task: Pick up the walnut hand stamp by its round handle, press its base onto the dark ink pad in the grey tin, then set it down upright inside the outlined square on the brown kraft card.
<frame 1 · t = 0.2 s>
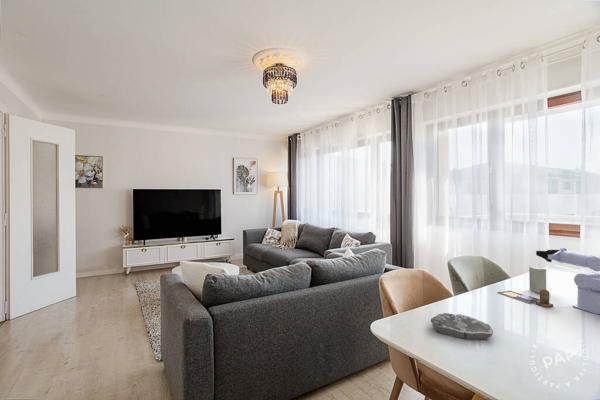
hand: (542, 252, 150), 21 cm above the table, tool horizontal, fingers open, 7 cm apart
marked card: (511, 294, 150), on the table
skincare box: (537, 291, 156), on the table
ink pad: (527, 300, 142), on the table
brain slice: (459, 331, 110), on the table
stamp: (544, 305, 136), on the table
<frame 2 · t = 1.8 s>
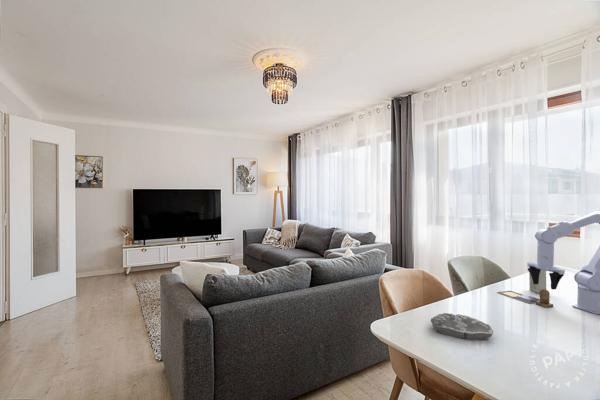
hand: (544, 286, 135), 9 cm above the table, tool pointing down, fingers open, 7 cm apart
nothing on the table moved.
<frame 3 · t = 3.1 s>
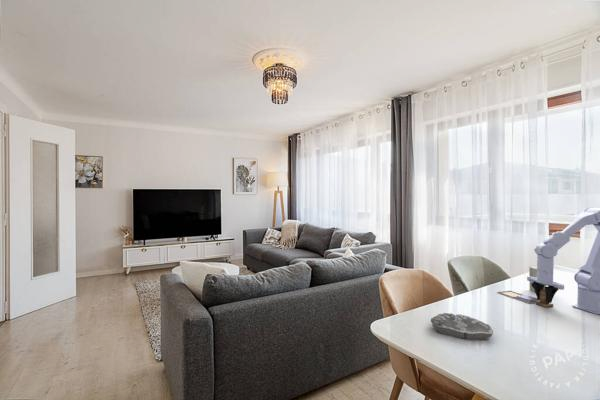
hand: (544, 301, 136), 2 cm above the table, tool pointing down, fingers closed on stamp, 3 cm apart
stamp: (544, 305, 136), on the table, touching gripper
everything else where it was.
when the fingers open (3 cm above the table, at t = 9.0 s): stamp drops 1 cm, resting on marked card.
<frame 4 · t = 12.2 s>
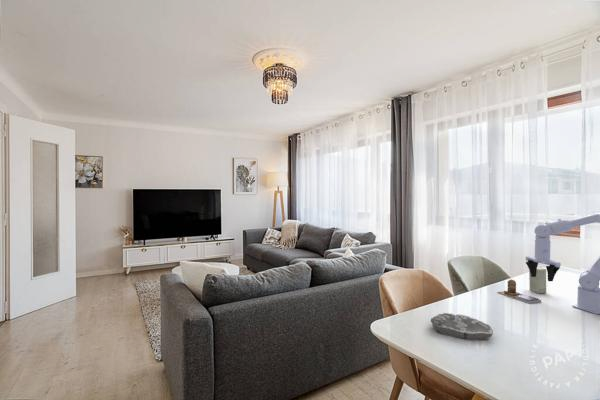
hand: (541, 278, 143), 10 cm above the table, tool pointing down, fingers open, 7 cm apart
stamp: (511, 294, 150), resting on marked card
everything else where it was.
at the end: stamp inside the target area on the marked card (0.1 cm from its centre), point 0.2 cm above the marked card's base; stamp tilted 0°; the gripper is holding nothing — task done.
